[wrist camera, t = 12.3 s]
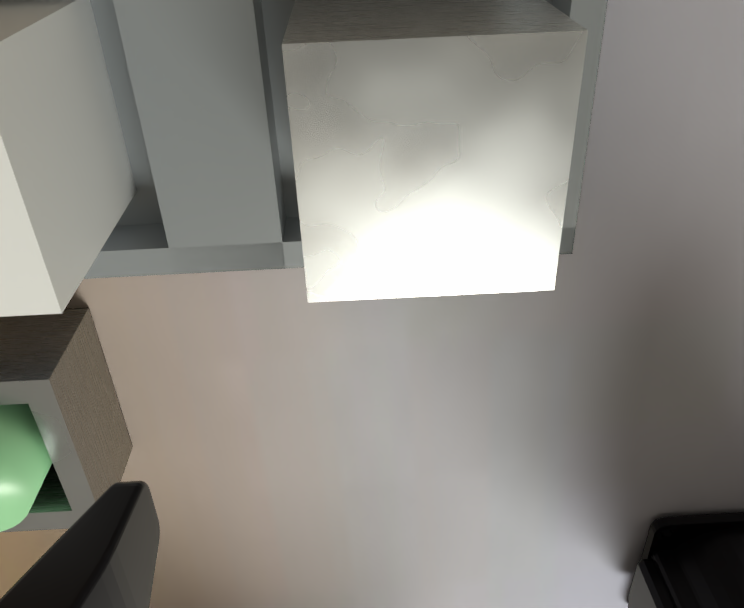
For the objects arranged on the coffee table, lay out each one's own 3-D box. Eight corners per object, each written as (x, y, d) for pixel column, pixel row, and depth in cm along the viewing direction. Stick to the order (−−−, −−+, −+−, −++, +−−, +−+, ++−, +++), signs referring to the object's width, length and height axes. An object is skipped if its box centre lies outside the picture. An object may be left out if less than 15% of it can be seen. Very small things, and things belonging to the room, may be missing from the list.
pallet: (593, -120, 16) (728, -107, 10) (552, 221, 20) (630, 354, 15) (-230, -83, 15) (-542, -51, 10) (-78, 252, 20) (-234, 399, 15)
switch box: (88, 307, 21) (48, 379, 18) (132, 446, 25) (104, 526, 22) (-106, 317, 21) (-176, 391, 18) (-36, 456, 25) (-87, 537, 22)
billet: (511, -24, 16) (588, 30, 11) (497, 175, 19) (554, 290, 14) (299, -15, 16) (281, 44, 11) (316, 184, 19) (307, 302, 14)
